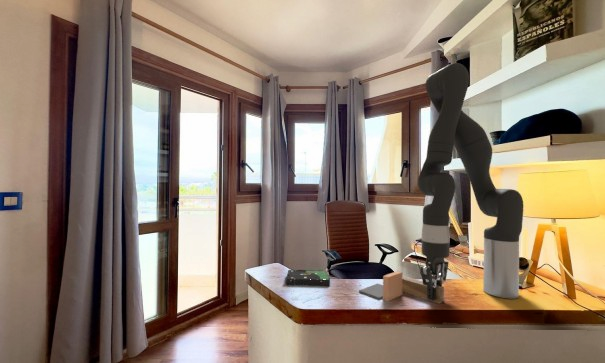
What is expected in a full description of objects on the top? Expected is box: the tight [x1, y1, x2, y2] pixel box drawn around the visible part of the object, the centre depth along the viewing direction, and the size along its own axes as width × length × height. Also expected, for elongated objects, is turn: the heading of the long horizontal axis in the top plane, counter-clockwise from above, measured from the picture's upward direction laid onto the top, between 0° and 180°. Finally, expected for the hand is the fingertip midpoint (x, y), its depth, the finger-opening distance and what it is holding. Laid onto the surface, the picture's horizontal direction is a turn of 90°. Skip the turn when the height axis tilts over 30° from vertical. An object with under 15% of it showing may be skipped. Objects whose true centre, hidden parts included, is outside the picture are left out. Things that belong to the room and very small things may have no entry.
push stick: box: [402, 275, 445, 304], centre depth 89 cm, size 3×16×4 cm, turn 41°
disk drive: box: [285, 269, 331, 287], centre depth 99 cm, size 10×3×15 cm
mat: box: [358, 283, 383, 301], centre depth 89 cm, size 10×7×1 cm
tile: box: [382, 270, 403, 302], centre depth 86 cm, size 8×2×7 cm, turn 131°
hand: (434, 297), depth 84 cm, fingers open, 3 cm apart
